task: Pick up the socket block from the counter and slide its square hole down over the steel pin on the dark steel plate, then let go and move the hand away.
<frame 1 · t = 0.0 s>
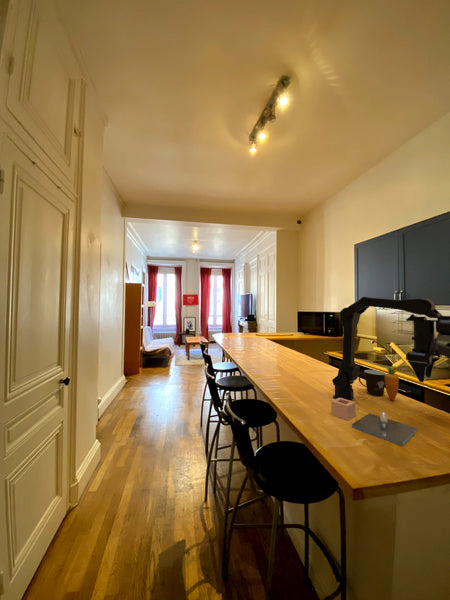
hand: (425, 379, 84), 15 cm above the table, fingers open, 9 cm apart
coffee mug: (371, 394, 113), on the table
carrot: (391, 401, 104), on the table
pin plate: (383, 429, 79), on the table
socket block: (343, 415, 89), on the table
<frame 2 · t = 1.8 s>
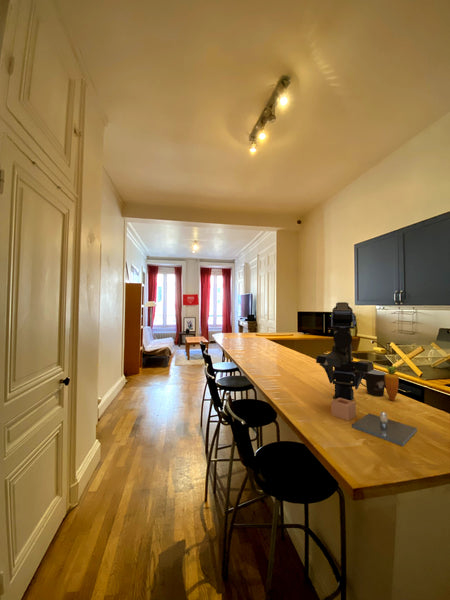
hand: (343, 386, 89), 11 cm above the table, fingers open, 9 cm apart
nothing on the table moved.
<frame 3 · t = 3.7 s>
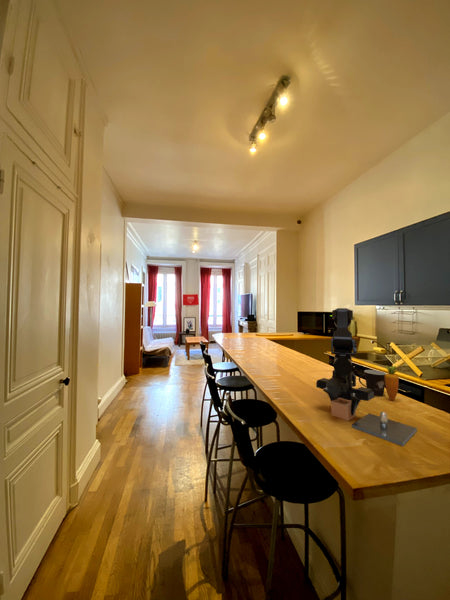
hand: (343, 412, 89), 1 cm above the table, fingers closed on socket block, 6 cm apart
socket block: (343, 415, 89), on the table, touching gripper
everything else where it was.
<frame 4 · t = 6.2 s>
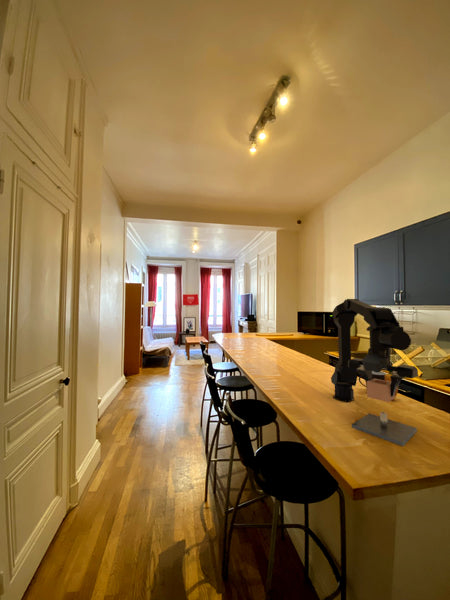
hand: (380, 393, 80), 11 cm above the table, fingers closed on socket block, 6 cm apart
socket block: (380, 397, 79), point 10 cm above the table, touching gripper
everything else where it was.
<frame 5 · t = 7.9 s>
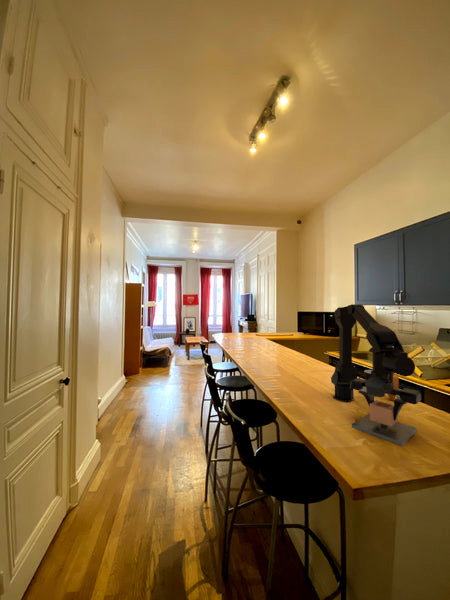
hand: (383, 416, 79), 4 cm above the table, fingers closed on socket block, 6 cm apart
socket block: (383, 420, 79), point 3 cm above the table, touching gripper
everything else where it was.
when the fingers open (4 cm above the table, at t = 9.1 s): socket block drops 2 cm, resting on pin plate.
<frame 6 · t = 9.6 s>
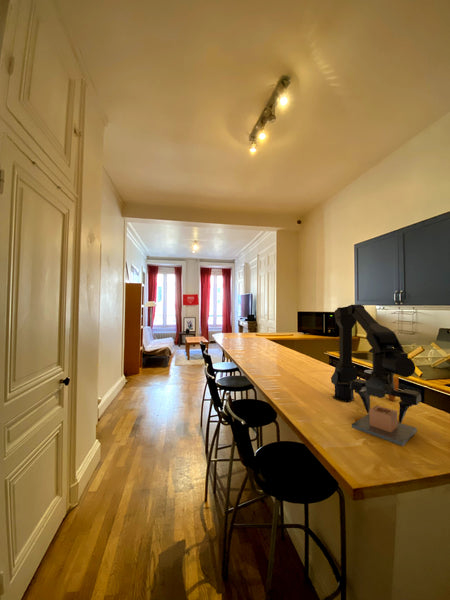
hand: (383, 417, 79), 4 cm above the table, fingers open, 9 cm apart
socket block: (383, 426, 79), point 1 cm above the table, touching pin plate
everything else where it was.
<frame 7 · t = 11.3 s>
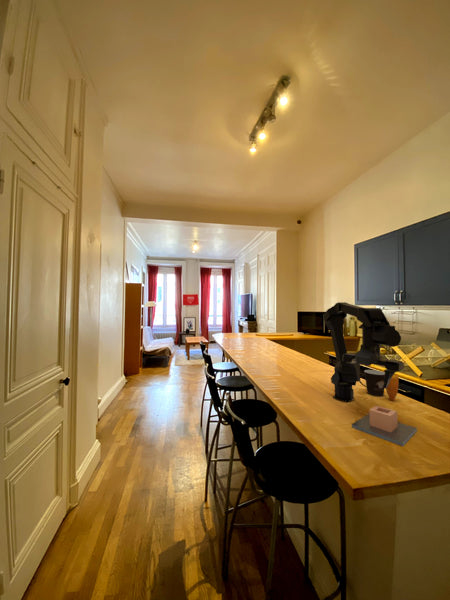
hand: (371, 384, 89), 11 cm above the table, fingers open, 9 cm apart
nothing on the table moved.
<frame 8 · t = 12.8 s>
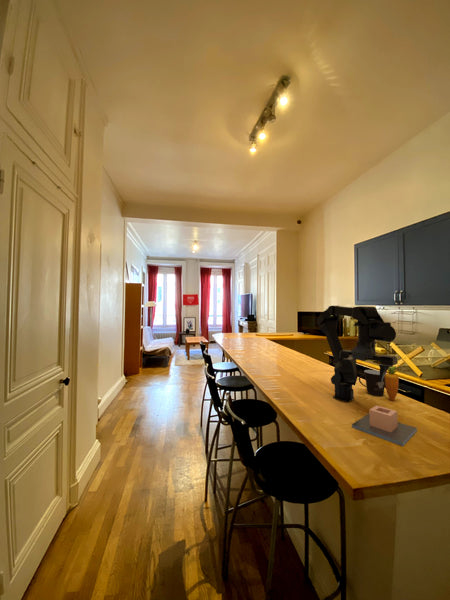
hand: (367, 379, 93), 12 cm above the table, fingers open, 9 cm apart
nothing on the table moved.
at the end: socket block 0.1 cm off-centre on the pin plate, point 1.0 cm above the pin plate's base; socket block tilted 0°; the gripper is holding nothing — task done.
